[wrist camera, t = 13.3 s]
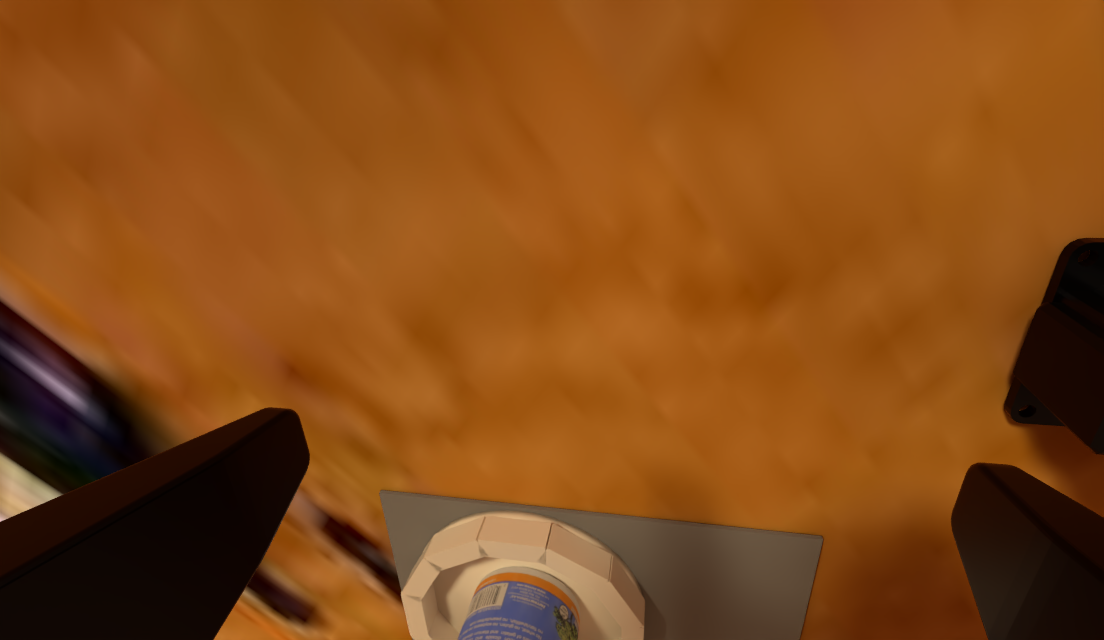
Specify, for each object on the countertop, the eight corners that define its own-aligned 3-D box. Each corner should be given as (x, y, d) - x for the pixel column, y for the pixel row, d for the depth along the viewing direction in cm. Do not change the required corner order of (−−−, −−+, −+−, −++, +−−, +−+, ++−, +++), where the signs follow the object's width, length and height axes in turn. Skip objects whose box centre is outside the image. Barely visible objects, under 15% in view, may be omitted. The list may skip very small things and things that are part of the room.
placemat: (821, 535, 24) (823, 539, 24) (782, 706, 29) (782, 710, 29) (381, 490, 27) (379, 492, 27) (416, 648, 33) (415, 652, 33)
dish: (648, 524, 25) (647, 559, 23) (640, 685, 30) (639, 723, 29) (403, 498, 27) (385, 528, 25) (434, 653, 32) (422, 687, 31)
